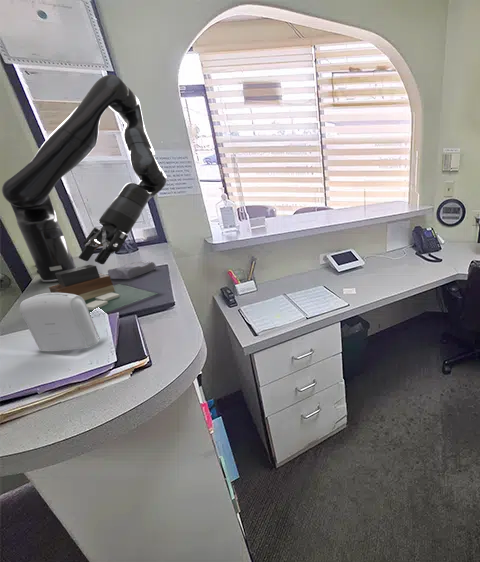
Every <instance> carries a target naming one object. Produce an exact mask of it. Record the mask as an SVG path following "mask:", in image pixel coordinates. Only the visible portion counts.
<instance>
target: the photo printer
mask: <svg viewBox="0 0 480 562" xmlns="http://www.w3.org/2000/svg"><path fill="white" fill-rule="evenodd" d="M19 311H20V314H21V315H22V318H23V320H24V322H25V324H26V326H27V328H28V330H29V332H30V333H31V336H32V338H33V341H34V342H35V343H36V346H37V347H38V349H39V351H40V352H57V351H60V352H61V351H72V350H84V349H89V348H90V347H93V346H95V345H97V344H98V343H99V342H100V340H101V337H100V334H99V332H98V330H97V327H96V325H95V322H94V320H93V317H92V318H91V315H90V313H89V310H88V308H87V306H86V303H85V301H84V299H83V298H82V297H80V296H78V295H74V294H68V293H51V292H45V293H39V294H35V295H32V296H30V297H28V298H26V299H24V300H22V301H21V302H20V304H19ZM98 337H99V338H98Z"/></svg>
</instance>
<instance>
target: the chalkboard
mask: <svg viewBox="0 0 480 562" xmlns="http://www.w3.org/2000/svg"><path fill="white" fill-rule="evenodd" d="M113 287H114V289H115V291H113V292H112V293H116V294H119V296H120V297H118V298H115V299H112V300H109V301H108V304H107V305H104V306H102V307H100V309H102V310H103V311H104V312H105V313H104V314H107V313H108V312H112V311H115V310H118V309H120V308H123V307H126V306H129V305H131V304H134V303H137V302H140V301H142V300H145V299H148V298H151V297H153V296H156V295H159V293H157V292H154V291H151V290H145V289H141V288H137V287H133V286H130V285H125V284H121V283H118V284H114V285H113ZM110 293H111V292H110ZM107 294H108V293H107ZM97 297H98V296H97ZM95 300H96V298H95V297H94V298H91V299H88V300H85V303H86V304H88V303H90V302H93V301H95ZM97 301H98V300H97ZM92 311H93V310H89V313H90V312H92Z"/></svg>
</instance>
